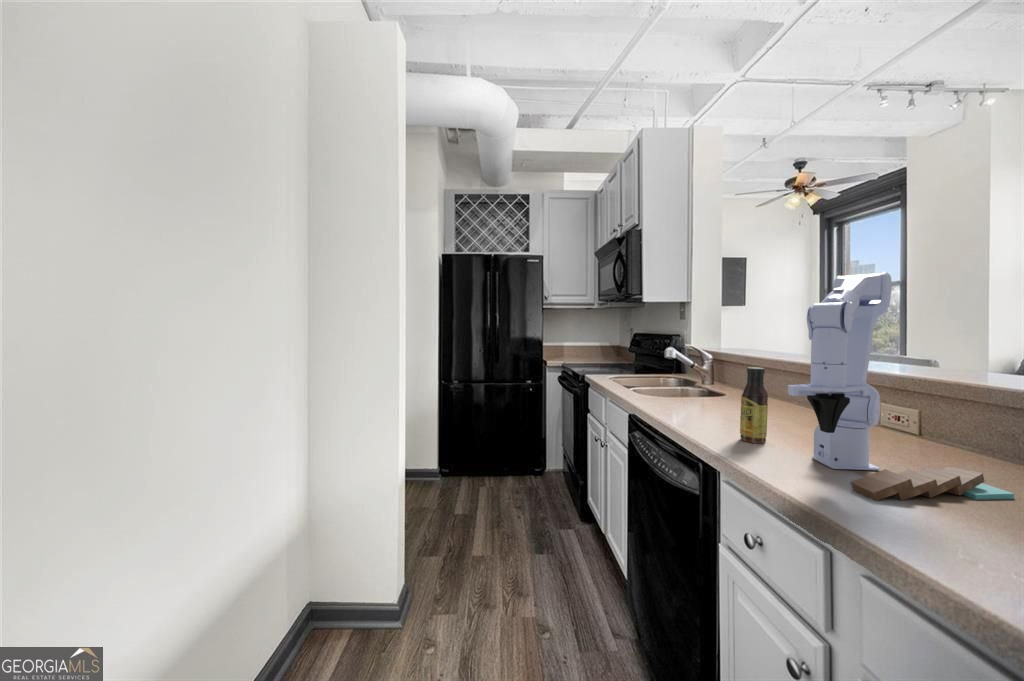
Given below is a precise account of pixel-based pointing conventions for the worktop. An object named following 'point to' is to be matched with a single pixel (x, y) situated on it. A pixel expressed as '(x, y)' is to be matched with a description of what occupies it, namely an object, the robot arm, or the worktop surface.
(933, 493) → the domino
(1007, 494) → the domino
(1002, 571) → the worktop surface
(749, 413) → the sauce bottle
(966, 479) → the domino
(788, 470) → the worktop surface
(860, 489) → the domino
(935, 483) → the domino
